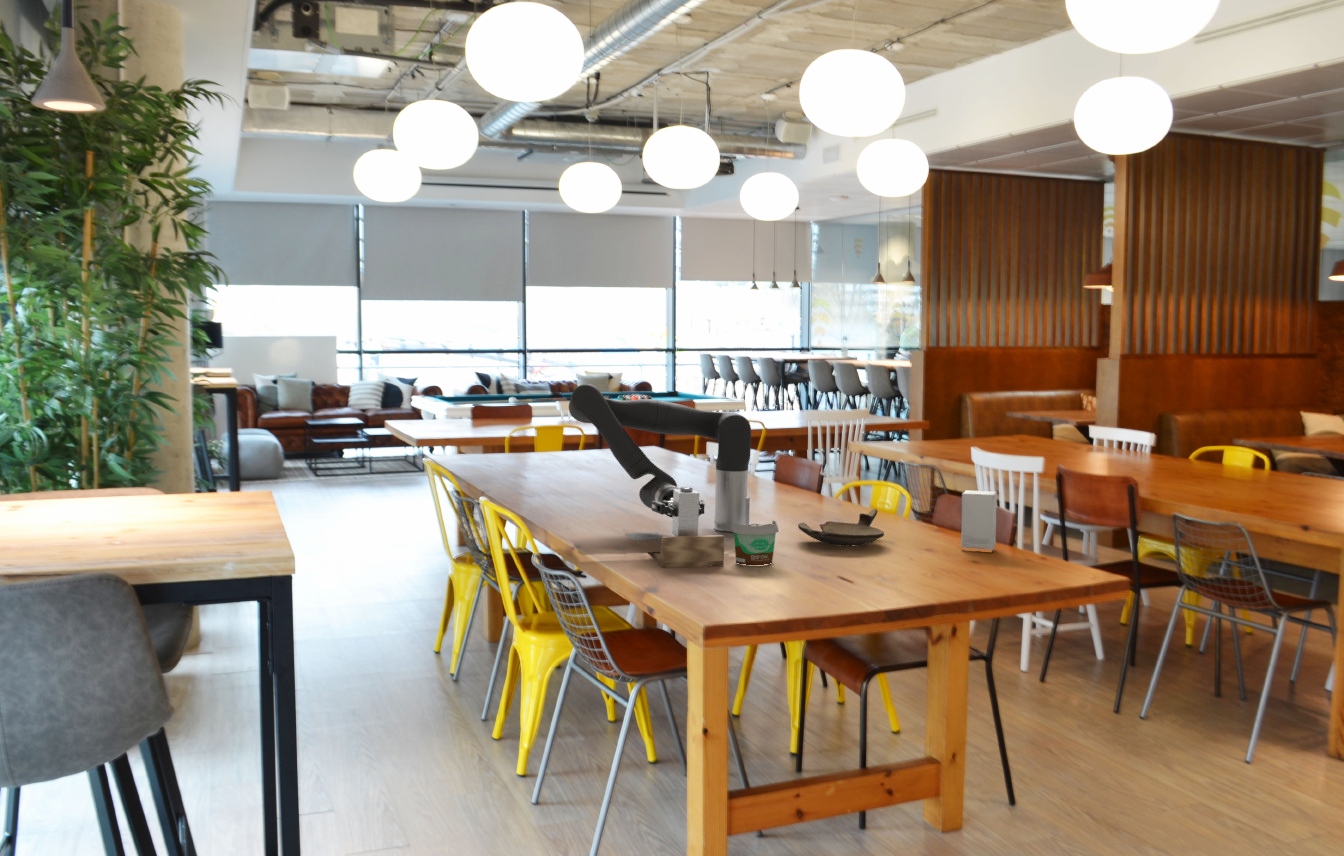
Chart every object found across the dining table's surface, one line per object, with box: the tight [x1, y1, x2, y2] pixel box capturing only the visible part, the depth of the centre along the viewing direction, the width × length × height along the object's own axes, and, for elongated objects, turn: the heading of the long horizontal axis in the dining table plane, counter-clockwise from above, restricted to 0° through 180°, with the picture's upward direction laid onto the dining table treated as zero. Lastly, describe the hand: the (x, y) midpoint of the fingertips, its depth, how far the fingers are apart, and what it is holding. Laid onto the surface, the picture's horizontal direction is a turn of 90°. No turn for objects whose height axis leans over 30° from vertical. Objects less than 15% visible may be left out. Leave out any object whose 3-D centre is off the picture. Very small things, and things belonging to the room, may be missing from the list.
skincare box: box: [960, 489, 997, 550], centre depth 276 cm, size 8×7×16 cm
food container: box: [732, 520, 779, 565], centre depth 254 cm, size 12×6×10 cm, turn 117°
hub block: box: [671, 486, 700, 536], centre depth 257 cm, size 5×6×12 cm
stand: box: [624, 532, 663, 541], centre depth 279 cm, size 9×9×2 cm
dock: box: [647, 534, 725, 568], centre depth 259 cm, size 15×19×7 cm
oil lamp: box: [797, 508, 885, 547], centre depth 282 cm, size 22×30×8 cm
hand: (687, 512), depth 255 cm, fingers closed on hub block, 5 cm apart
